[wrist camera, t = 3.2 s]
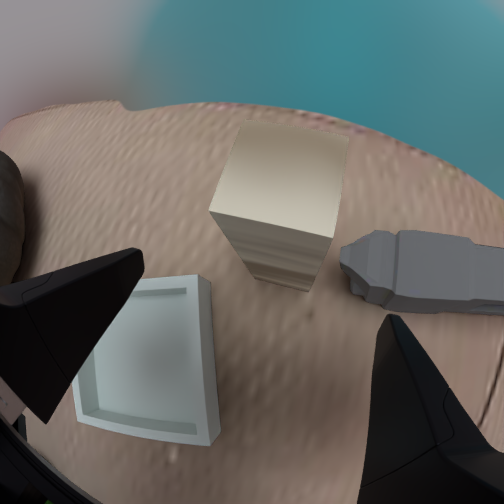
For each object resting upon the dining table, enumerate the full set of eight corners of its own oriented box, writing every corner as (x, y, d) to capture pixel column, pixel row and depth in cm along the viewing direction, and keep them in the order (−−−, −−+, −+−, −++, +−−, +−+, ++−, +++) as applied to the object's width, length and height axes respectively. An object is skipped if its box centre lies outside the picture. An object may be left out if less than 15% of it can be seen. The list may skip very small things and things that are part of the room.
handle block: (308, 292, 19) (333, 237, 8) (255, 278, 20) (208, 210, 9) (320, 240, 20) (349, 136, 9) (269, 228, 21) (243, 119, 10)
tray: (221, 431, 17) (210, 446, 14) (98, 414, 19) (77, 421, 16) (210, 282, 21) (197, 274, 18) (91, 290, 22) (69, 284, 19)
